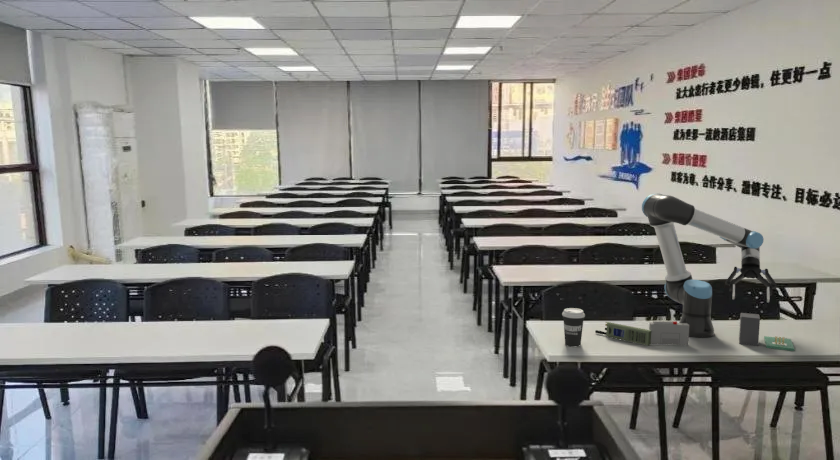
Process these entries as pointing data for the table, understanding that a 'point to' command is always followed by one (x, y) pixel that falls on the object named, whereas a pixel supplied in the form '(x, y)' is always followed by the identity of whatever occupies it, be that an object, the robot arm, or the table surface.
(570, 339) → the coffee cup
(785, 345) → the header board
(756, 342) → the block
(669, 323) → the cassette player
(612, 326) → the handheld radio
